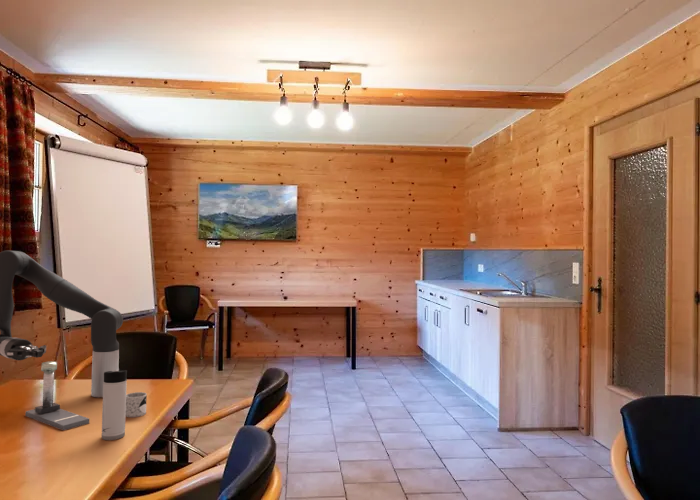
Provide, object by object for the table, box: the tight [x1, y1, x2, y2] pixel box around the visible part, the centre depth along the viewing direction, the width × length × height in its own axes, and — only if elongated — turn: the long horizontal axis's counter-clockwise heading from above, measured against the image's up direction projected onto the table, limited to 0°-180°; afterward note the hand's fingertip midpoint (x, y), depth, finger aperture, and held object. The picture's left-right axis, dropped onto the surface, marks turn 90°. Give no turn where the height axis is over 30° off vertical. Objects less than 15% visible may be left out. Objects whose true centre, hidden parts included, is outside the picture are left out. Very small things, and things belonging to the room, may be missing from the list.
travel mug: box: [101, 369, 128, 441], centre depth 140 cm, size 6×7×20 cm
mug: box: [125, 391, 148, 418], centre depth 162 cm, size 10×7×7 cm
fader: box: [34, 360, 61, 414], centre depth 157 cm, size 4×6×16 cm
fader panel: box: [24, 408, 90, 431], centre depth 154 cm, size 24×8×2 cm, turn 59°
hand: (39, 354), depth 161 cm, fingers closed
